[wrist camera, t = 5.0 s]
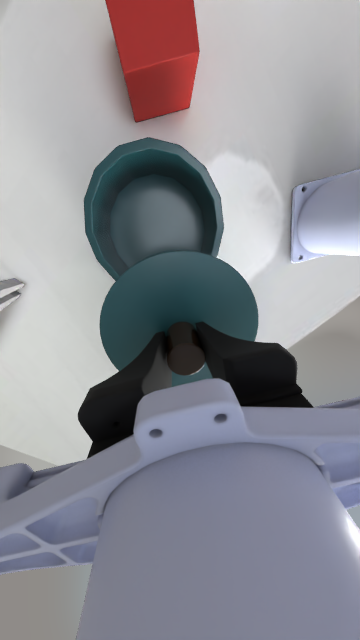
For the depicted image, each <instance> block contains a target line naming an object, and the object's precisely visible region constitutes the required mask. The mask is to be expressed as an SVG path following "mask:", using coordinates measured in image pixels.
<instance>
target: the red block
mask: <svg viewBox="0 0 360 640" xmlns="http://www.w3.org/2000/svg"><path fill="white" fill-rule="evenodd" d="M105 1H106V5H107V9H108V13H109V17H110V21H111V26H112V30H113V34H114V38H115V42H116V46H117V50H118V54H119V58H120V62H121V66H122V70H123V74H124V78H125V82H126V86H127V90H128V94H129V98H130V102H131V106H132V110H133V114H134V118H135V122H139V121H143V120H146V119H150V118H154V117H157V116H161V115H164V114H168V113H172V112H175V111H179V110H182V109H186V108H189V107H190V101H191V96H192V90H193V85H194V79H195V74H196V68H197V63H198V57H199V52H200V50H199V42H198V34H197V25H196V17H195V9H194V1H193V0H105Z"/></svg>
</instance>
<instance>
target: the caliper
mask: <svg viewBox="0 0 360 640" xmlns="http://www.w3.org/2000/svg"><path fill="white" fill-rule="evenodd" d="M23 286H24V284H23V283H21V282H20V281H18V280H16V279H15V278H13V279H8V280H4V281H0V310H2V309H3V308H5V307H6V306H7V305H9V304H10V303H12V302H13V301H14V300H16V299H17V298H18V297H19V296H20V295H21V294H20V293H19V292H17V291H15V290H17V289H19V288H21V287H23Z"/></svg>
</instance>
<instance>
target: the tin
mask: <svg viewBox="0 0 360 640" xmlns="http://www.w3.org/2000/svg"><path fill="white" fill-rule="evenodd" d="M84 214H85V232H86V235H87V238H88V240H89V242H90V245H91V247H92V250H93V252H94V254H95V257H96V259H97V260H98V262H99V263H100V264H101V265H102V266H103V268H104V269H105V270H106V271H107V272H108V273H109V274H110V275H111V276H112V278H113V279H114V280H115V281H117V279H118V278H119V277H120V276H121V275H122V274H123V273H124V272H125V271H127V270H128V269H129V268H130V267H132V266H133V265H135V264H136V263H138V262H140V261H142V260H144V259H146V258H148V257H150V256H153V255H156V254H159V253H163V252H169V251H181V250H186V251H195V252H200V253H204V254H208V255H211V256H213V257H217V255H218V251H219V247H220V243H221V238H222V234H223V229H224V223H223V215H222V206H221V197H220V195H219V193H218V191H217V189H216V187H215V185H214V183H213V181H212V179H211V177H210V175H209V173H208V171H207V169H206V168H205V166H204V165H203V164H201V163H200V162H199V161H198V160H197V159H196V158H194V157H193V156H192V155H191V154H190V153H189V152H188V151H186V150H185V149H184V148H183V147H182V146H180V145H177V144H173V143H169V142H165V141H162V140H158V139H154V138H148V137H147V138H144V139H140V140H137V141H133V142H129V143H126V144H122V145H119V146H117V147H116V148H115V149H114V150H113V151H112V152H111V153H110V154H109V155H108V156H107V157H106V158H105V159H104V160H103V161H102V162H101V163H100V164H99V165H98V166H97V167H96V168H95V170H94V172H93V175H92V178H91V181H90V184H89V187H88V189H87V192H86V195H85V198H84Z"/></svg>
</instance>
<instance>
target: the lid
mask: <svg viewBox="0 0 360 640" xmlns="http://www.w3.org/2000/svg"><path fill="white" fill-rule="evenodd" d="M199 322H205V323H206V324H208V325H209V326H211V327H213V328H214V329H216V330H218V331H220V332H222V333H224V334H227V335H229V336H232V337H235V338H239V339H243V340H247V341H253V342H254V341H255V338H256V335H257V329H258V309H257V304H256V301H255V297H254V295H253V293H252V290H251V288H250V287H249V285H248V284H247V282H246V281H245V279H244V278H243V277H242V276H241V275H240V274H239V273H238V272H237V271H236V270H235V269H234V268H233V267H231V266H230V265H229V264H227V263H225V262H224V261H222V260H220V259H218V258H216V257H213V256H211V255H208V254H204V253H200V252H195V251H186V250H181V251H169V252H163V253H159V254H156V255H153V256H150V257H148V258H146V259H144V260H142V261H140V262H138V263H136V264H135V265H133V266H132V267H130V268H129V269H128V270H127V271H125V272H124V273H123V274H122V275H121V276H120V277H119V278H118V279H117V281H116V282H115V283H114V284H113V286H112V287H111V289H110V291H109V292H108V294H107V296H106V298H105V301H104V303H103V306H102V310H101V315H100V335H101V339H102V343H103V346H104V349H105V351H106V354H107V355H108V357H109V359H110V360H111V362H112V363H113V364H114V366H115V367H116V368H117V369H118V370H119V371H121V370H122V369H123V368H124V367H126V366H127V365H128V364H129V363H131V362H132V361H133V360H134V359H135V358H136V357H137V356H138V355H139V354H140V353H141V352H142V350H143V349H144V348H145V347H146V346H147V344H148V343H149V342H150V340H151V339H152V337H153V336H154V335H155V333H158V332H162V331H164V333H165V337H166V350H167V365H168V367H169V368H170V370H171V371H172V387H174V386H179V385H183V384H187V383H191V382H195V381H200V380H204V379H213V377H212V375H211V373H210V370H209V368H208V366H207V364H206V362H205V360H206V356H205V352H204V350H203V347H202V344H201V341H200V339H199V336H198V333H197V330H196V325H195V323H199Z"/></svg>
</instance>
